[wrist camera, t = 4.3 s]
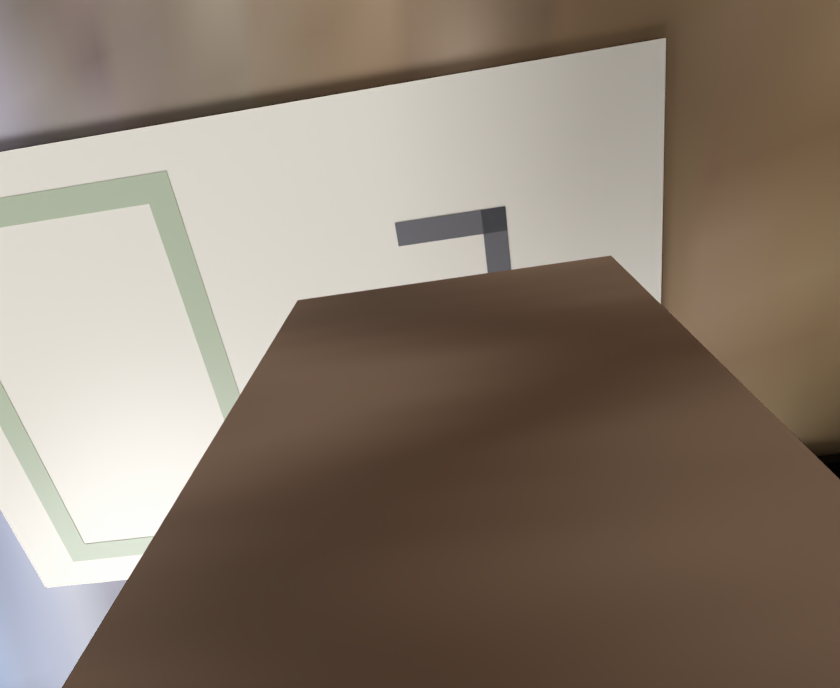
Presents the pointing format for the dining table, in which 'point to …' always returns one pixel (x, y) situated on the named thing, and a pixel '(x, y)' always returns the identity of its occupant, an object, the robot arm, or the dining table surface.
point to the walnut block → (488, 508)
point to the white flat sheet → (277, 261)
